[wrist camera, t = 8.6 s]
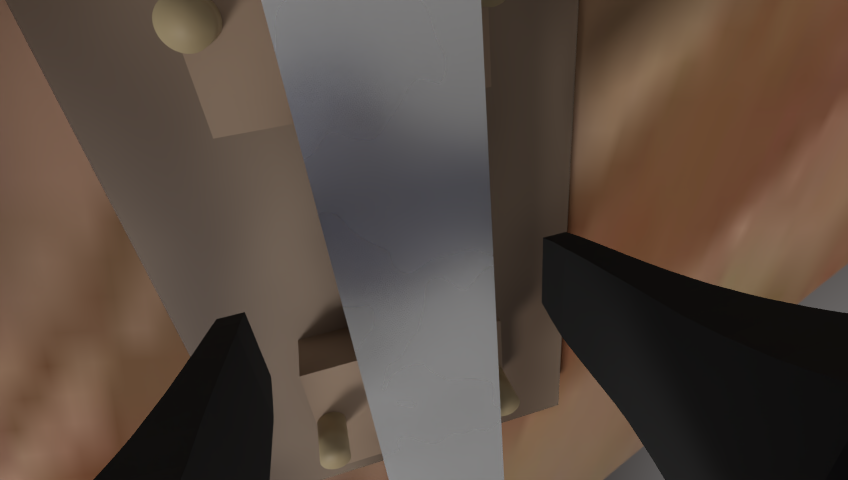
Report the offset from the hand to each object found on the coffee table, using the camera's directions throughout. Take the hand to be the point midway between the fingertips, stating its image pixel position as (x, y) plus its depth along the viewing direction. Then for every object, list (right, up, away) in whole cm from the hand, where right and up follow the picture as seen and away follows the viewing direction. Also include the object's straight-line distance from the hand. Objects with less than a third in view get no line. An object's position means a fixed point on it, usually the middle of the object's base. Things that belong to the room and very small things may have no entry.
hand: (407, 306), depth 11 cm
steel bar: (-1, +1, +2) cm, 3 cm away
